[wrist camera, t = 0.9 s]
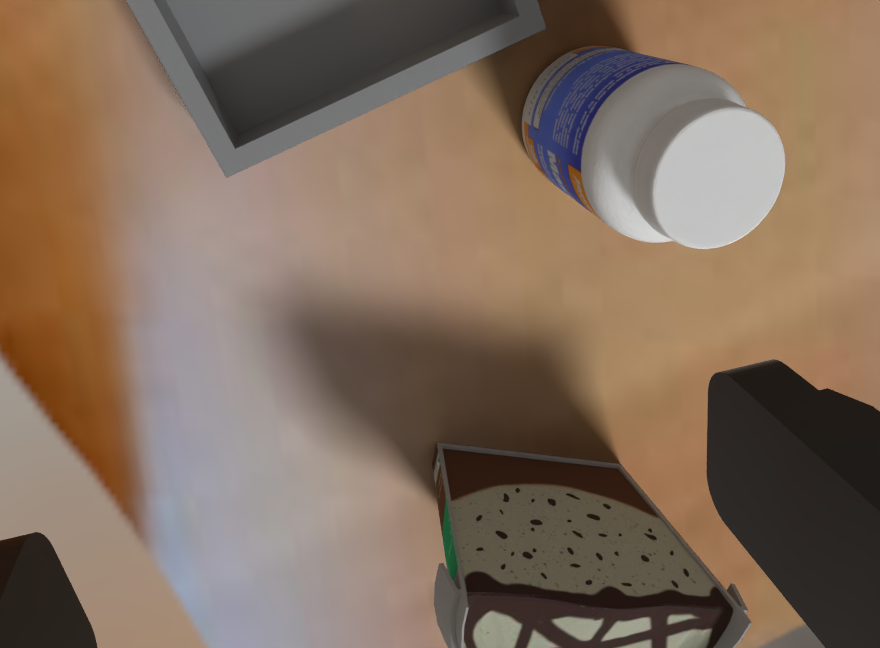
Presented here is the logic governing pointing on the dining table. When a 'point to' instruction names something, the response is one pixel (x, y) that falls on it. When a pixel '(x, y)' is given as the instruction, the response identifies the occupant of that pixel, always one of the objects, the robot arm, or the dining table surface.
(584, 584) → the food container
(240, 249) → the dining table surface
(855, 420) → the robot arm
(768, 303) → the dining table surface
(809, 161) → the dining table surface
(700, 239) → the pill bottle
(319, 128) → the tray
